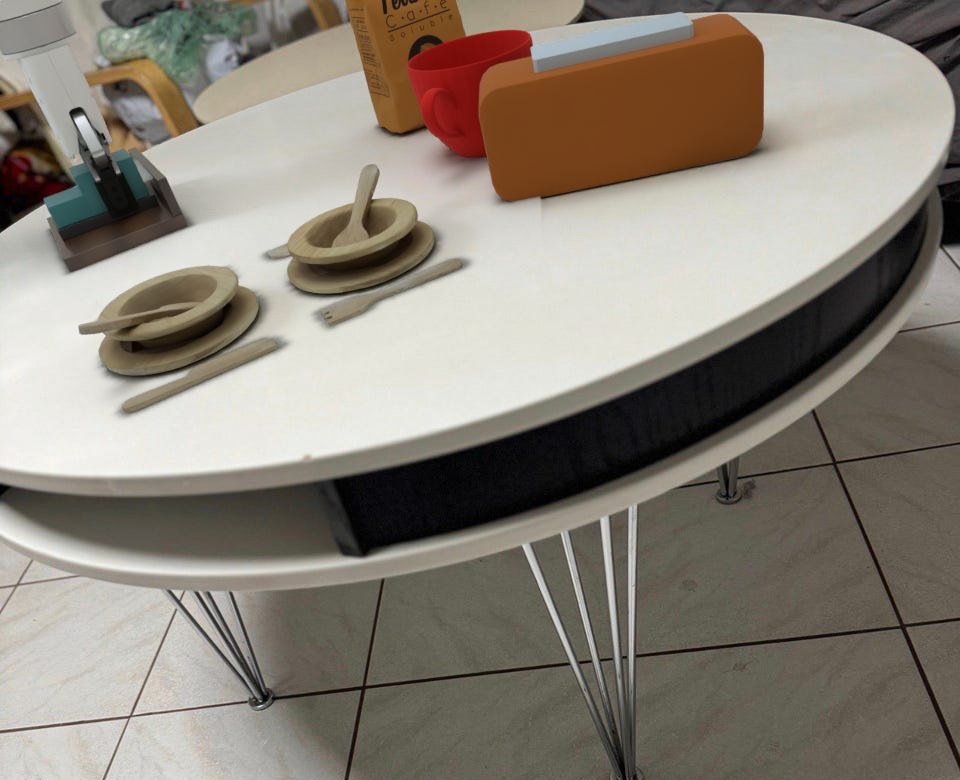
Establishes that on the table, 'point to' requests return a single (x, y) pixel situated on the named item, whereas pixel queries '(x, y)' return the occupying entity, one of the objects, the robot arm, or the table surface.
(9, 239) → the table surface
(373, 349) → the table surface
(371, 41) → the coffee package
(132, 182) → the teal l-shaped block
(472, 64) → the ceramic cup
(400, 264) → the tableware set
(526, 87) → the alarm clock
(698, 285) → the table surface
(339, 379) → the table surface
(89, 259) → the brown l-shaped piece
